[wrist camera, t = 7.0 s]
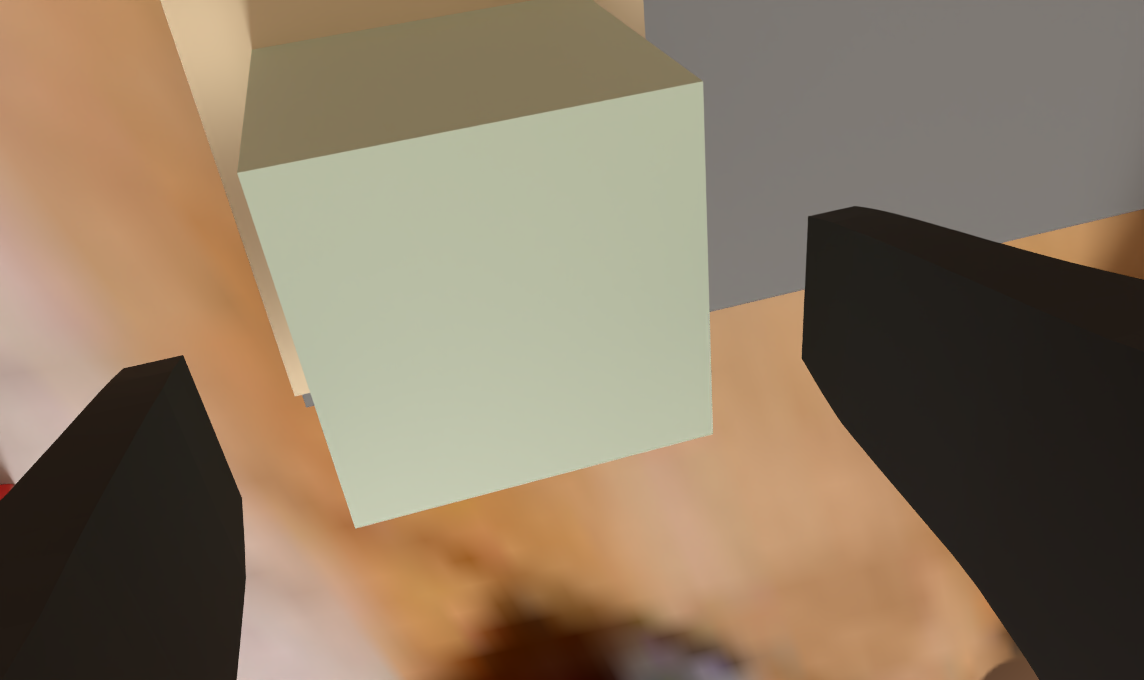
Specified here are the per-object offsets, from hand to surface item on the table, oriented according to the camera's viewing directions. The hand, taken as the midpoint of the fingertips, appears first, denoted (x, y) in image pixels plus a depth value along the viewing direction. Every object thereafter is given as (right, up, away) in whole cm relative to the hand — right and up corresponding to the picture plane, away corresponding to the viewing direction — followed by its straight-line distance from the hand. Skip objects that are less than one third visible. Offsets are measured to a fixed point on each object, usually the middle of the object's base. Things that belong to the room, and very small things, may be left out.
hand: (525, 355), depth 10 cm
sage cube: (-1, +3, +4) cm, 6 cm away
